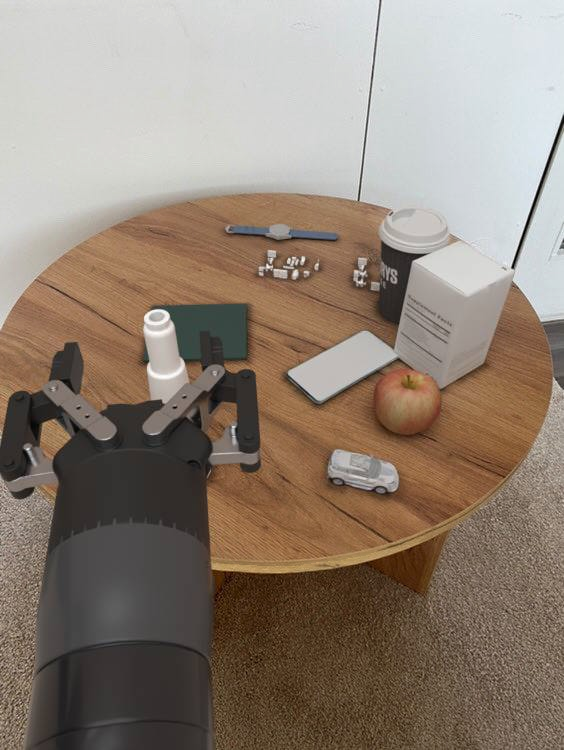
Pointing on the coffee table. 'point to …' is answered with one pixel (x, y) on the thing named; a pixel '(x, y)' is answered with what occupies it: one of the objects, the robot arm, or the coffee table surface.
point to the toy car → (362, 472)
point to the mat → (213, 317)
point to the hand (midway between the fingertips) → (140, 345)
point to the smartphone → (341, 366)
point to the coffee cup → (406, 251)
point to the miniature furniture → (283, 273)
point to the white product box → (451, 311)
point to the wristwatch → (281, 232)
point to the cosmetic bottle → (163, 357)
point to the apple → (407, 401)
